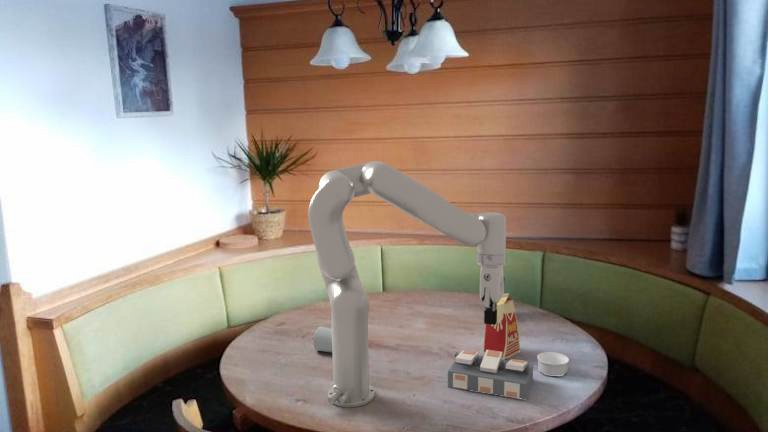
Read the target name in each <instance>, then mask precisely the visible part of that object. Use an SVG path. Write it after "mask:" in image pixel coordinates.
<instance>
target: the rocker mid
mask: <svg viewBox="0 0 768 432" xmlns="http://www.w3.org/2000/svg"><path fill="white" fill-rule="evenodd" d="M501 358H502V352H500V351H494V350H486V352H485V354H483V360H482V363H481V365H480V371H486V372H492V373H497V370H498V367H499V364H500V361H501Z"/></svg>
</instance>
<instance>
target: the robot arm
mask: <svg viewBox="0 0 768 432" xmlns="http://www.w3.org/2000/svg"><path fill="white" fill-rule="evenodd" d="M370 194H372V195H374V196H375V197H377V198H379V199H381V200H382V201H385V202H386V203H388V204H389V205H391V206H393V207H394V208H397V209H398V210H400V211H402V212H403V213H405V214H407V215H409V216H410V217H412V218H414V219H415V220H418V221H419V222H421V223H422V224H425V225H428V226H430V227H431V228H434V229H435V230H437V231H439V232H441V233H442V234H444V235H446V236H447V237H449V238H451V239H452V240H454V241H455V242H458V243H460V244H461V245H463V246H465V247H469V248H474V247H476V248H477V249H476V251H477V254H476V263H477V265H478V266H480V269H479V270H480V272H479V301H480V302H482V303H483V323H484V324H485V325H486V324H491V325H495V324H496V323H497V303H498V302H499V301H500V299H501V298H502V296H503V294H505V293H504V278H505V275H504V266H506V247H507V246H506V245H507V243H506V242H507V241H506V240H507V218H506V216H505V215H504V214H503V213H500V212H495V211H494V212H492V211H491V212H490V211H489V212H482V213H473V212H472V213H471V212H467V211H465V210H463V209H461V208H459V206H456V205H455V204H453V203H451V202H450V201H448V200H446V199H445V198H444V197H442V196H441V195H439V194H438V193H437V192H436V191H434V190H432V189H430V188H429V187H428V186H425V185H424V184H422V183H421V182H419V181H417V180H415V179H414V178H412V177H410V176H409V175H407V174H405V173H403V172H401V171H400V170H398V169H397V168H395V167H394V166H391V165H390V164H388V163H386V162H384V161H380V160H374V161H373V160H372V161H369V162H365V163H359V164H356V165H351V166H347V167H343V168H341V167H340V168H337V169H334V170H330V171H327V172H326V173H325V174H323V175H322V177H320V180H319V183H318V189H317V190H316V191H315V193H314V195H313V196H312V198H311V200H310V203H309V206H308V212H307V218H308V219H307V220H308V225H309V229H310V234H311V236H312V241H313V244H314V247H315V252H316V260H317V263H318V266H319V269H320V272H321V273H320V274H321V276H322V278H323V282H324V285H325V287H326V291H327V295H328V297H329V302H330V310H331V329H332V353H331V355H332V380H333V381H332V382H333V383H332V384H333V386H331V388H330V389H328V391H327V399H326V400H327V403H328V404H329V405H331V406H332V405H336V406H339V407H343V408H357V407H361V406H365V405H367V404H369V403H371V402H372V401H373V400H374V398H375V396H376V391H375V388H374V387H373V386H372V385H370V377H369V375H370V372H369V371H370V369H369V368H370V367H369V366H370V365H369V364H370V363H369V312H370V304H369V297H368V294H367V292H366V290H365V287H364V286H363V284H362V282H361V278H360V276H359V274H358V273H359V272H358V270H357V267H356V258H355V254H354V251H353V249H352V247H351V245H350V242H349V239H348V238H349V237H348V235H347V232H346V228H345V224H344V219H343V213H344V210H345V209H346V208H347V206H348V205H349V204H351V202H352V200H353V199H354V198H359V197H361V196H366V195H370Z"/></svg>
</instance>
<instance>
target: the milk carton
mask: <svg viewBox="0 0 768 432" xmlns="http://www.w3.org/2000/svg"><path fill="white" fill-rule="evenodd" d="M509 295H510V292H506V293H504V294H503V296H502V298H501V299H500V301H499V302H498V303H497V323H496V324H495V325H491V324H485V327H484V337H483V338H484V339H483V351H482V353H483V355H485V352H486V350H494V351H500V352H502V358H501V359H503V360H505V359H506V358H508V357H510V356H512V355H514V354H516V353H517V354H519V353H520V352H521V344H520V336H519V335H520V334H519V333H520V332H519V327H518V321H517V314H516V309H515V304H514V299H513V298H511V297H509ZM519 351H520V352H519ZM518 352H519V353H518ZM517 354H516V355H517ZM514 356H515V355H514ZM512 357H513V356H512ZM510 358H511V357H510ZM508 359H509V358H508ZM506 360H507V359H506Z"/></svg>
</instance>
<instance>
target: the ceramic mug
mask: <svg viewBox="0 0 768 432" xmlns="http://www.w3.org/2000/svg"><path fill="white" fill-rule="evenodd" d="M313 348H314V350H315V351H318V352H325V353H330V354H332V327H325V326H318V328H317V329H316V330H315V332H314V335H313Z"/></svg>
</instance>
